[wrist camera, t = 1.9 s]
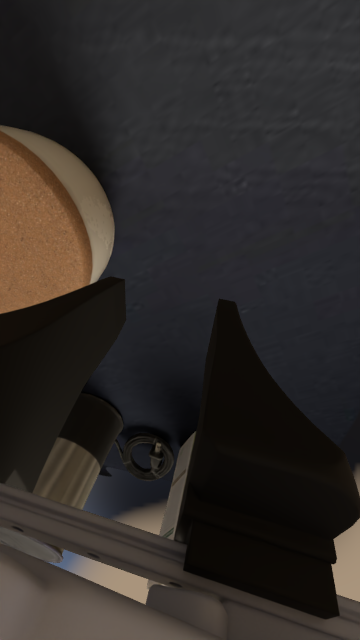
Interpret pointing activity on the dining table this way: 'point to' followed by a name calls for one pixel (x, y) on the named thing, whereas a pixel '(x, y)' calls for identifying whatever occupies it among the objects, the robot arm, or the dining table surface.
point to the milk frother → (85, 465)
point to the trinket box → (48, 221)
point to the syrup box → (176, 493)
